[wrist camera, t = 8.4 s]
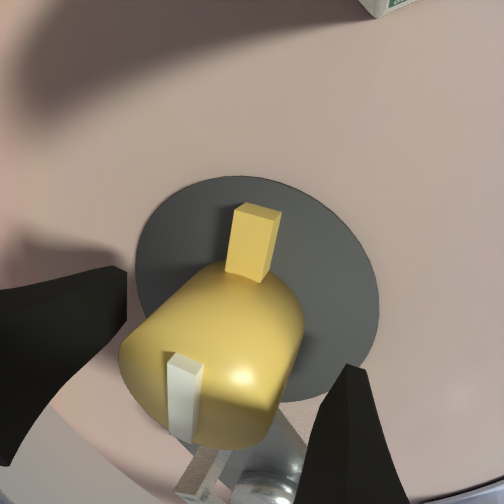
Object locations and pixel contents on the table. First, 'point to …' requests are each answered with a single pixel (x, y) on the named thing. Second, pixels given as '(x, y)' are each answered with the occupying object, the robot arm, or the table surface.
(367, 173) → the table surface
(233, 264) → the cap
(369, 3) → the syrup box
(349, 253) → the mat
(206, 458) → the grey plate with posts
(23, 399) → the robot arm
